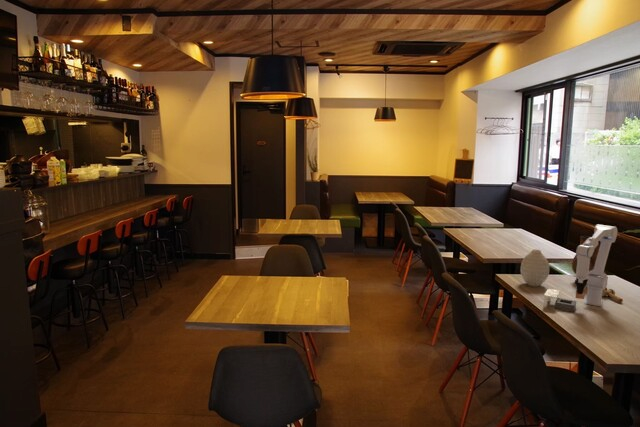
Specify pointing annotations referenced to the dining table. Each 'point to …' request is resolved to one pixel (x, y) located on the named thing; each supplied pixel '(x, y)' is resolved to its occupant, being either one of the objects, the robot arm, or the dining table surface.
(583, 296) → the peg
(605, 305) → the dining table surface
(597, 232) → the robot arm
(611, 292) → the kendama
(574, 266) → the pitcher
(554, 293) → the beige block
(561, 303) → the socket
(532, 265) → the vase
